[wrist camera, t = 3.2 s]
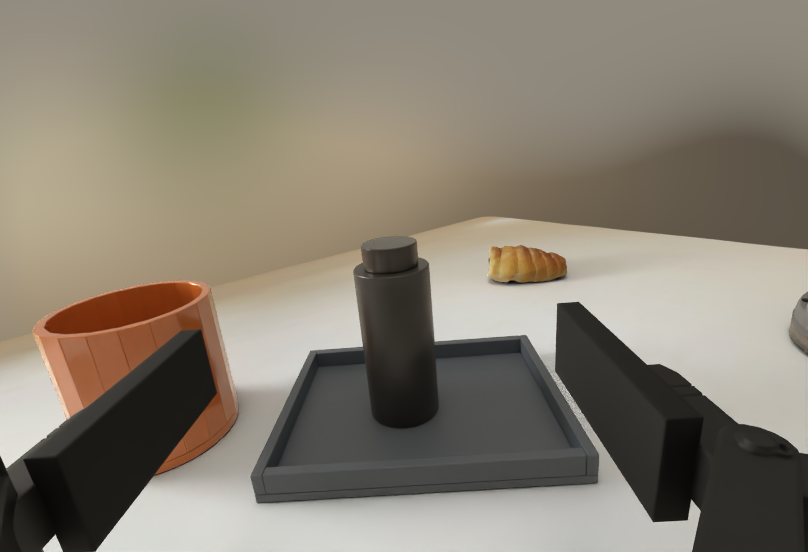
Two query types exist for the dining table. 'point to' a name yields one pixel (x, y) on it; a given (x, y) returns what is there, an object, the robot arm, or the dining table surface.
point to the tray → (426, 429)
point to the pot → (136, 350)
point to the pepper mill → (397, 331)
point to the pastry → (524, 264)
